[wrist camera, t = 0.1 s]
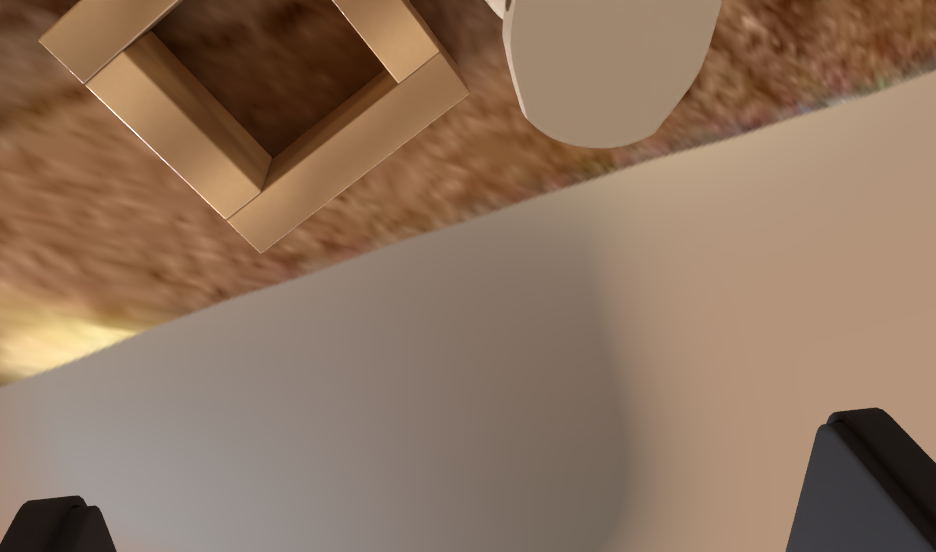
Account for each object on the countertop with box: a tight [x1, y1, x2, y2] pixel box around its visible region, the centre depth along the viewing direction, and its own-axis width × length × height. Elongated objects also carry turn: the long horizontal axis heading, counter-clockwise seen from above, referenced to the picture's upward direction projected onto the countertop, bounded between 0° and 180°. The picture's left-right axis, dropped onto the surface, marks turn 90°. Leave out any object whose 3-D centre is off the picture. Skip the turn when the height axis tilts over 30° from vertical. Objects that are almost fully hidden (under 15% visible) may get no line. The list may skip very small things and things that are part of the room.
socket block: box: [38, 0, 470, 253], centre depth 29 cm, size 11×11×4 cm
